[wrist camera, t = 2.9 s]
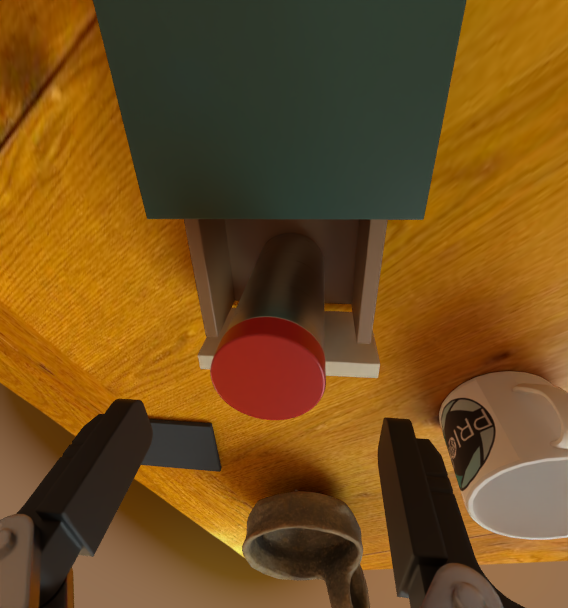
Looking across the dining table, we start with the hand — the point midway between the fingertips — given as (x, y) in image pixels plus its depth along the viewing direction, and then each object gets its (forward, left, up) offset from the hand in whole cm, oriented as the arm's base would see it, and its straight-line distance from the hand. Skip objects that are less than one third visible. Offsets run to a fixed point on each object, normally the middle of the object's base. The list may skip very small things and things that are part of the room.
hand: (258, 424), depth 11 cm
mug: (+18, -14, -15) cm, 27 cm away
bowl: (+2, -35, -15) cm, 38 cm away
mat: (-14, -24, -15) cm, 31 cm away
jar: (0, 0, -13) cm, 13 cm away
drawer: (0, 0, -14) cm, 14 cm away
